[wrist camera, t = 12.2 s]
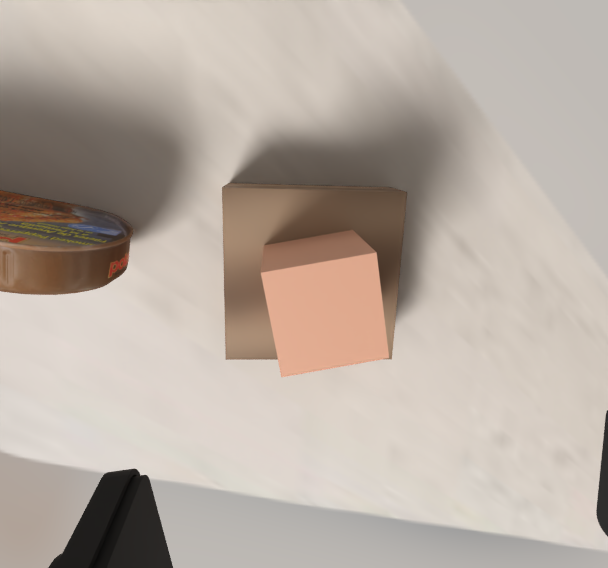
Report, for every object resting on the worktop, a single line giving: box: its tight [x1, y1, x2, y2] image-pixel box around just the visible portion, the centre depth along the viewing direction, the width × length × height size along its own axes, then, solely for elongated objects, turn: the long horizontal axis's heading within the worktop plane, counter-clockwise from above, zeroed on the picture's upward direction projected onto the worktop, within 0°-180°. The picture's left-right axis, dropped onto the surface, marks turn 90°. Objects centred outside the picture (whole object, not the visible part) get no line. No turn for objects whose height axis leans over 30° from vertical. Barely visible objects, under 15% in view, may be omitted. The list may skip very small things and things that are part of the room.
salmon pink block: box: [261, 230, 389, 377], centre depth 22 cm, size 5×5×6 cm
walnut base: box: [222, 183, 407, 359], centre depth 27 cm, size 10×10×4 cm
